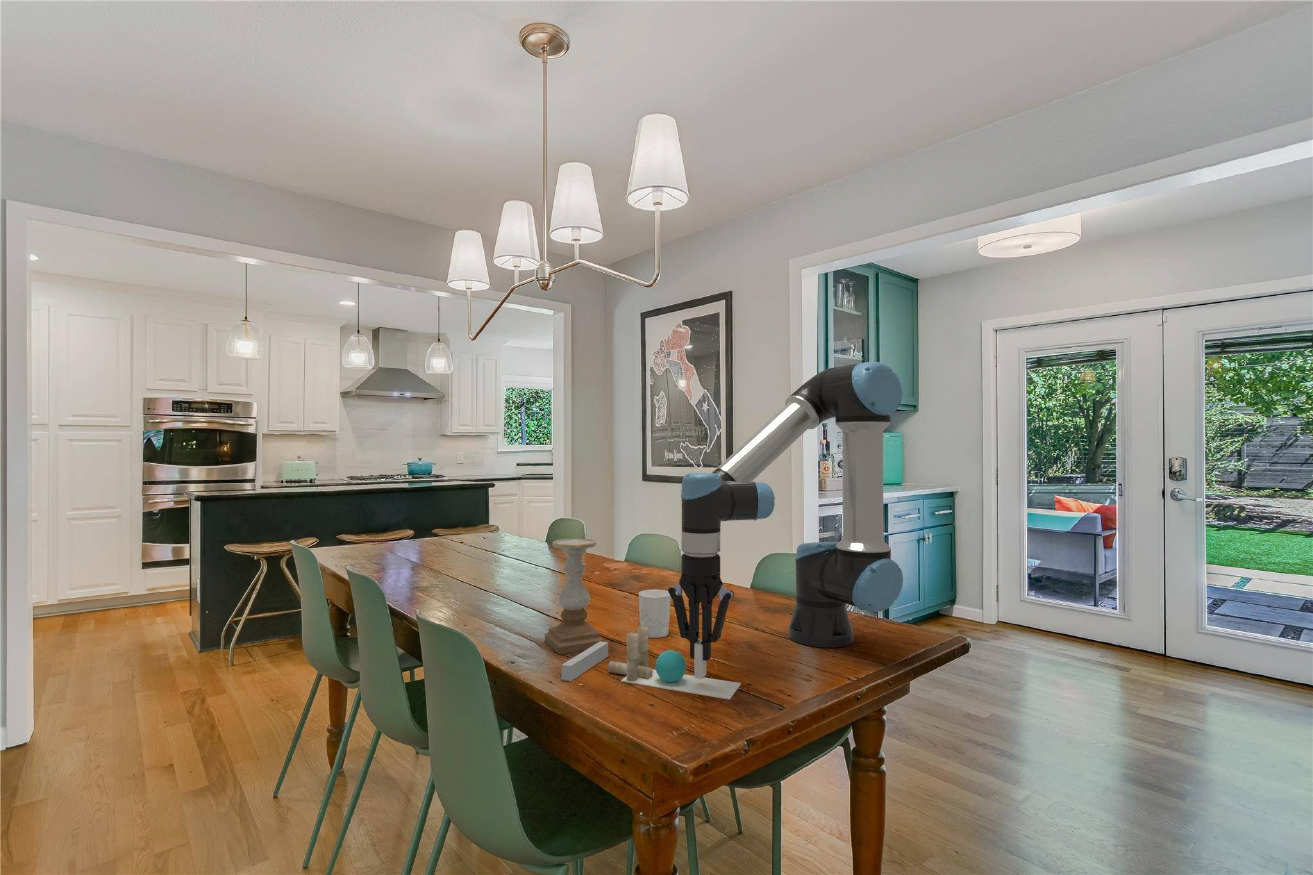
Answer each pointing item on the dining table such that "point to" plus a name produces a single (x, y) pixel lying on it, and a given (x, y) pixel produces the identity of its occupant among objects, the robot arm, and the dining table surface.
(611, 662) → the pin front
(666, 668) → the ball
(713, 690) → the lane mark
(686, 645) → the dining table surface
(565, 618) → the candle holder
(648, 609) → the white cup
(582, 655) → the wall
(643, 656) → the pin
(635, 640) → the pin
